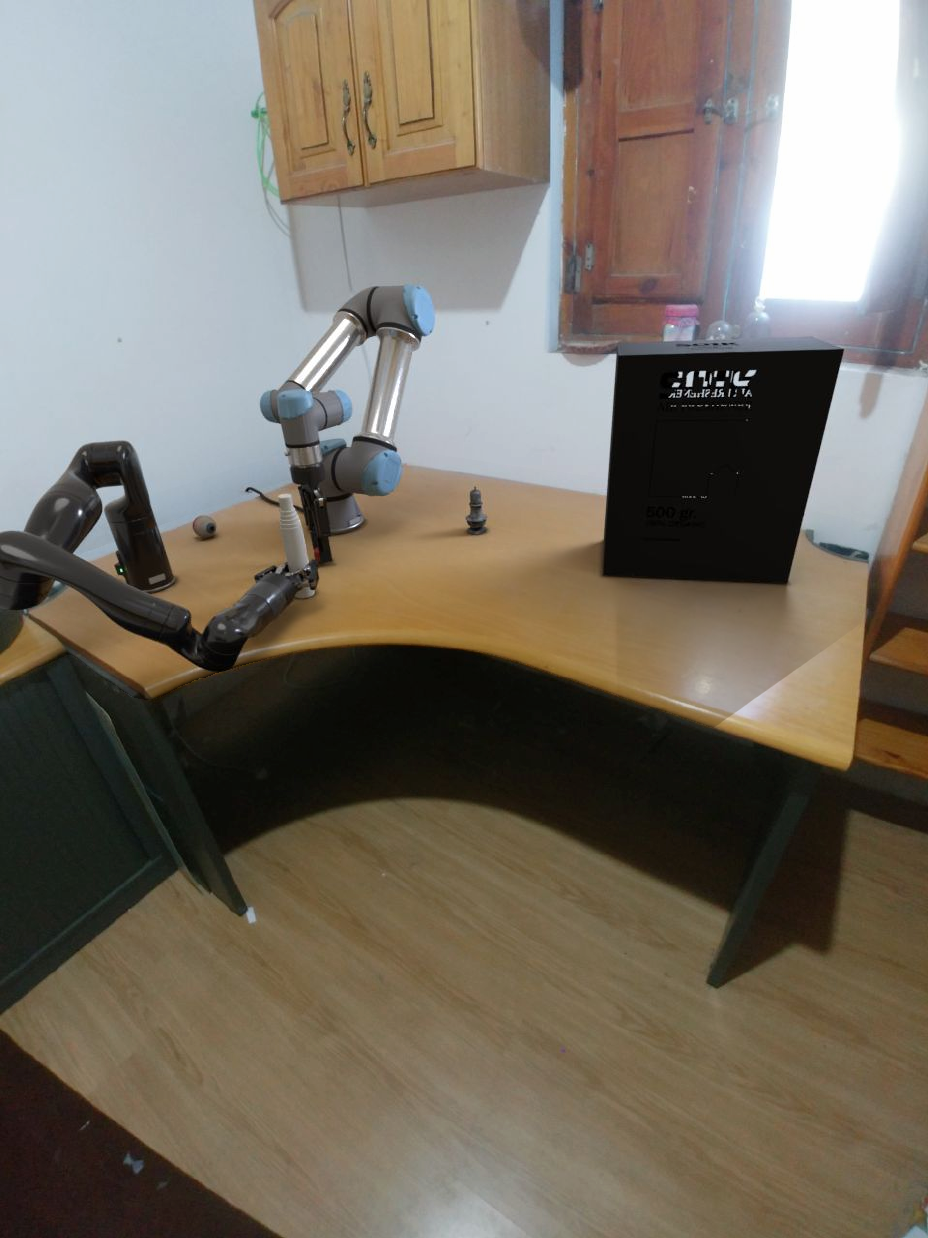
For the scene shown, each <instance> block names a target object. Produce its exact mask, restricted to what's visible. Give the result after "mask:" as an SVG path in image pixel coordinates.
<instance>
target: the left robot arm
mask: <svg viewBox="0 0 928 1238" xmlns="http://www.w3.org/2000/svg"><path fill="white" fill-rule="evenodd" d="M112 487H123V492H124V493H123V495H122V496H120V497H118V498H116V499H114V500H112V501H109V502H108V503H107V504H105V506H103V502H102V498H101V496H100V494H99V492H98V491H97V490H99V489H102V488H112ZM103 512H104V516H105V518H106V521H107V523H108V526H109V529H110V532H111V534H112V538H113V540H114V541H115V546H116V548H117V550H116V551H115V556H116V558H117V561H118V562H117V563H115V564H113V566H114V569H115V572H116V574H117V576H122V577H123V578H124V580H125V582H124V581H123V580H121V579H119V578H117V577H115V576H113V575H112V574H110V573H108V572H106V571H105V570H103V569H102V568H100V567H98V566H96V565H95V564H92V563H91V562H89V561H87V560H85V559H84V558H82V557H80V556H78V555H76V554H75V551H77V549H78V548H79V547H80V546H81V544H82V543H83V542H84V540H85V539H86V538H87V536H88V535H89V534H90V533H91V532H92V530H93V528H95V526H96V524H97V523H98V522H99V520H100V518H101V517H102V514H103ZM305 572H306V576H305ZM253 578H254V581H255V582H254V584H253V585H251V587H250V588H249V589H247V591H246V592H245V593H244V594H243V596H242V597H240V599H239V600H237V601H236V602H235V603H234V604H233V605H232V606H230V607H227V608H225V609H223V610H221V611H219V612H218V613H216V614H215V615H213V617H212V618H211V619H210V620H209V621H208V622H207V623H206V625H205V627H204V628H203V631H202V633H201V632H200V631H199V630H198V629H196V628H195V627H193V625H192V620H193V619H192V618H193V617H192V613H191V611H190V610H189V609H188V608H186V607H183V606H181V605H179V604H177V603H174V602H172V601H169V600H166V599H163V598H161V597H159V596H157V595H153V594H151V593H157V592H160V591H163V590H166V589H167V588H169V587H171V586H172V585H173V584H175V583H176V577H175V575H174V573H173V570H172V566H171V563H170V559H169V557H168V554H167V551H166V548H165V545H164V541H163V537H162V535H161V532H160V529H159V526H158V522H157V520H156V516H155V514H154V510H153V507H152V504H151V499H150V494H149V490H148V488H147V484H146V480H145V477H144V472H143V468H142V465H141V460H140V457H139V455H138V453H137V450H136V449H135V447H134V445H133V444H132V443H131V442H130V441H128V440H126V439H125V440H123V439H120V440H119V439H118V440H105V441H94V442H93V441H92V442H89V443H86V444H83V445H81V446H80V447H79V448H78V449H77V451H76V452H75V453H74V456H73V457H72V459H71V461H70V462H69V464H68V466H67V468H66V469H65V470H64V472H63V473H62V474H61V475H60V476H59V478H58V479H57V480H56V481H55V483H54V484H53V485H51V486H50V487H49V488H48V489H47V490H46V491H45V493H44V494H43V495H42V496H41V497H40V498H39V499H38V501H37V502H36V504H35V505H34V507H33V509H32V511H31V512H30V514H29V517H28V519H27V521H26V524H25V526H24V528H23V530H4V531H1V532H0V609H3V610H7V611H24V610H29V609H32V608H34V607H37V606H39V605H41V604H42V603H43V602H44V601H46V600H47V599H48V598H49V597H50V595H51V592H52V590H53V587H54V585H55V582H59V583H61V584H63V585H65V586H68V587H69V588H71V589H73V590H75V591H77V592H78V593H79V594H81V595H82V596H83V597H85V599H88V600H89V602H91V603H92V604H93V605H95V607H97V609H99V610H100V611H101V612H102V613H103V614H104V615H105V616H106V617H107V618H108V619H110V620H111V621H112V622H113V623H115V624H116V625H117V626H119V627H120V628H121V629H123V630H125V631H127V632H129V633H131V634H133V635H136V636H139V637H142V638H144V639H146V640H150V641H152V642H155V643H158V644H160V645H164V646H166V647H168V648H169V649H171V650H172V651H173V652H174V653H176V654H177V655H179V656H181V657H182V658H184V659H185V660H187V661H188V662H189V663H191V664H193V665H194V666H196V667H198V668H200V669H202V670H205V671H207V672H212V673H224V672H227V671H229V670H231V669H232V668H233V667H234V666H235V664H236V662H237V661H238V659H239V657H240V655H241V654H242V651H243V649H244V647H245V645H246V643H247V642H248V641H249V640H250V639H253V638H256V637H257V636H258V635H260V634H261V633H262V632H263V631H265V629H266V628H267V627H268V626H269V625H270V624H271V623H272V622H274V621H275V620H276V619H277V618H278V617H279V616H281V614H282V613H283V612H284V611H285V610H286V609H287V608H288V607H289V606H290V605H291V604H292V603H293V601H294V599H295V598H296V597H295V595H296V592H298V591H300V590H302V589H303V587H310V590H314V591H316V590H317V588H318V585H319V581H320V575H319V561H317V560H316V559H315V558H313V559H311V560H310V561H309V563H308V564H307V565H306V567H304V568H302V569H300V568H298V569H296V570H295V571H293V572H291V573H290V572H289V567H288V563H287V561H285V563H283V564H280V565H279V566H277V565H275V564H273V565H271V566H269V567H266V568H265V569H263V570H262V571H260V572H258V573H255V575H253Z"/></svg>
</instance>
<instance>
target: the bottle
mask: <svg viewBox="0 0 928 1238" xmlns="http://www.w3.org/2000/svg"><path fill="white" fill-rule="evenodd" d="M292 496H293V495H292V494H291V493H282V494H279V495H278V496H277V500H278V501H277V502H279V504H280V506H279V522H278V523H279V530H280V535H281V539H282V543H283V549H284V553H285V558H286V562H287V563H288V567H289V572H290V573H291V572H293V571H295V570H296V569H298V568H300V569H302V568H304V567H306V565H307V564H308V563H309V562H310V561H309V560H310V559H309V556H308V550H307V545H306V541H305V535H304V529H303V525H302V523H301V519H300V517H299V514H298V512H297V511H296V509H295V508H294V507H293V505H294V503H293V497H292ZM305 576H306V572H305ZM315 593H316V590H310V587H303V589H302V590H300V591H298V592H296V595H295V597H294V598H297V599H308V598H311V597H313V596H314V595H315Z"/></svg>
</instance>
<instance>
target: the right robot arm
mask: <svg viewBox="0 0 928 1238" xmlns="http://www.w3.org/2000/svg"><path fill="white" fill-rule="evenodd" d="M435 313H436V312H435V308H434V304H433V300H432V298H431V295H430V294H429V292H428V290H427V289H426V288H425V287H423V286H421V285H419V284H409V283H407V284H403V285H383V286H378V285H377V286H369V287H367V288H364V289H363V290H362V289H361V290H360V291H359V292H357V293H356V294H354V295H353V296H352V297H351V298H349V299H348V300H347V301H346V302H345V303H344V304H343V305H341V307H340V308H339V309H338V310H337V312H336V313H335V314H334V315H333V317H332V324H331V325H330V327H329V328H328V329H327V330H326V332H325V333H324V334H323V335H322V336H321V337H320V339H319V340H318V341H317V342H316V343H315V345H314V346H313V347H312V348H311V350H310V351H309V352H308V353H307V354H306V355H305V357H304V358H303V360H302V361H301V362H300V363H299V364H298V366H296V368H295V369H294V370H293V371H292V372H291V374H290V375H289V377H287V379H286V380H285V381H284V382H283V384H282V385H281V386H280V387H279V388H278V389H270V390H269V389H268V390H266V391H264V392H263V393H262V395H261V396H260V399H259V409H260V412H261V414H262V417H264V419H265V420H266V421H268V422H270V423H272V424H273V423H274V424H279V425H280V426H281V431H282V435H283V436H282V437H283V440H284V445H285V449H286V451H285V452H284V456H285V457H287V460H288V464H289V465H290V467H289V472H290V477H291V481H292V483H293V484H294V485H298V486H297V490H298V493H299V497H300V502H301V506H302V507H301V506H299V505H296V504H293V507H294V508H295V510H298V511H300V512H302V513H303V516H304V521H305V526H306V527H308V530H309V533H310V538H311V544H312V549H313V551H314V549H315V548H317V547H318V550H319V556H320V561H319V562H320V564H322V565H323V564H326V563H330V562H333V556H332V550H331V545H330V539H329V537H332V535H339V534H340V535H341V534H345V533H350V532H353V531H355V530H357V529H359V528H361V527H362V526H363V525H364V523H365V519H364V514H363V512H362V510H361V508H360V505H359V504H358V501H357V500H356V498H355V495H356V494H357V495H363V496H364V495H365V496H369V497H386V496H388V495H390V494H391V493H392V492H394V491H395V490H396V488H397V487H398V485H399V483H400V481H401V478H402V473H403V466H402V464H403V463H402V458H401V456H400V455H399V454H398V446H397V445H396V444H395V441H394V439H395V434H396V430H397V425H398V420H399V415H400V411H401V406H402V402H403V398H404V393H405V389H406V384H407V379H408V376H409V370H410V366H411V361H412V357H413V352H415V351H417V350H419V349H420V347H421V343H422V340H423V339H422V338H423V337H427V336H429V335H430V334H432V332H433V331H434V327H435V322H436V316H435ZM373 337H376V338H377V339H378V341H379V345H378V350H377V354H376V358H375V364H374V367H373V372H372V377H371V382H370V386H369V391H368V395H367V400H366V406H365V409H364V413H363V417H362V418H363V419H362V423H361V427H360V431H359V432H358V433H356V434H355V435H353V436H352V441H351V444H350V446H347V444H348V443H347V442H346V440H345V439H344V438H341V437H340V438H338V437H337V438H330V439H325V440H320V434H319V432H321V431H324V430H329V429H330V428H333V427H336V426H338V427H339V426H341V425H342V424H344V423H346V422H348V421H349V420H350V419H351V417H352V416H353V411H354V409H353V403H352V400H351V398H350V396H349V395H348V394H347V393H346V392H345V391H343V390H341V389H329V390H328V391H324V392H322V390H323V389H324V387H325V386H326V385H327V383H328V382H329V381H330V380H331V379H332V378H333V376H334V375H335V373H336V372H337V371H338V369H340V367H342V365H343V364H344V362H345V361H346V360H347V358H348V357H349V356H350V355H351V354H352V352H353V351H354V350H355V348H356V347H360V346H362V345H363V344H364V343H365V342H366V341H367V340H368V339H371V338H373ZM249 491H252V492H254V493H256V494H258V495H259V496H260V497H261V498H262V499H263V500H264V501H266V502H268V503H271V504H273V505H276V506H279V507H280V504H279V501H276V500H274V499H271V498H269V497H268V496H267V497H266V496H265V495H264V492H262V491H260V490H259V489H256V488H254V487H252V486H248V487H246V488H245V490H244V492H246V493H247V492H249ZM354 494H355V495H354Z"/></svg>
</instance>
